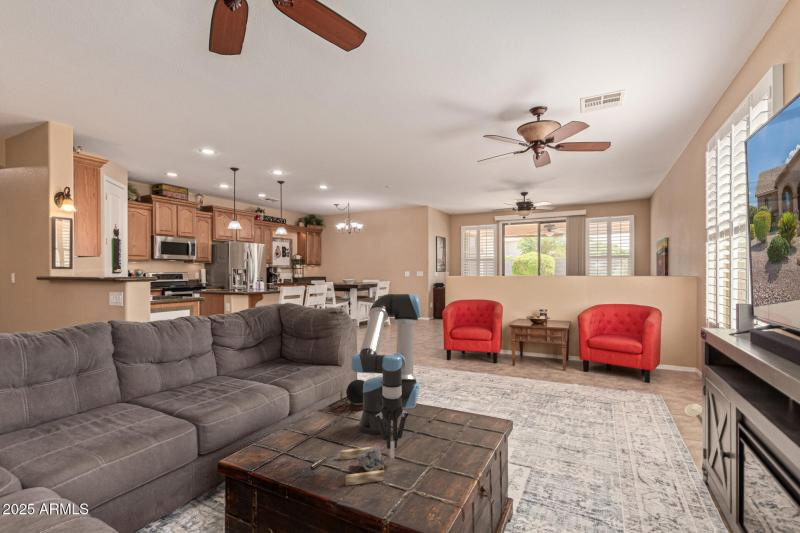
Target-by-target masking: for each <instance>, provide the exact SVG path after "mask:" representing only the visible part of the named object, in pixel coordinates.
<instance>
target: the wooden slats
mask: <svg viewBox="0 0 800 533" xmlns="http://www.w3.org/2000/svg"><path fill="white" fill-rule="evenodd" d="M375 447H376V446H367V447H359V448H351V449H342V450H340V451H339V452H340V455H339V456H340V461H343V460H350V459H352V460H353V459H357V457H358V456H357V455H358V454H360V453H362V452H364V451H365V450H366V449H369V448H375ZM385 474H386V473H385V469H384V470H382V469H379V470H378V471H371V472H370V471H366V472H359V473H350V474H345V483H344V484H345V486H346V487H347V486H354V485H359V484H360V485H361V484H369V483H374V482H381V481H385V479H386V475H385Z"/></svg>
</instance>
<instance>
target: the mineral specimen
mask: <svg viewBox="0 0 800 533" xmlns="http://www.w3.org/2000/svg"><path fill="white" fill-rule="evenodd" d="M374 447H375V448H369V449H366V450H365V451H364V452H362V453H360V454H358V455H357V456H358V457H357V458H356V460H358V461H359V462H358V465H360V467H362V468H363V469H364V470H365V471H366V472H371V471H379V470H384V471H385V462H384V461H383V460H382V459H383V454H382V450H381V448H380V446H374Z"/></svg>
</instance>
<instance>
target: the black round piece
mask: <svg viewBox="0 0 800 533" xmlns="http://www.w3.org/2000/svg"><path fill="white" fill-rule="evenodd" d="M365 381H366V380H363V379H355V380H352V381H351V382H350V383H349V384H348V385H347V387H346V389H345V391H346V392H345V394H346V398H347V400H348V401H349V404H348V406H347V409H348V410H349V411H352V412H363V384H364V382H365Z"/></svg>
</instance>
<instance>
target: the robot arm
mask: <svg viewBox="0 0 800 533" xmlns="http://www.w3.org/2000/svg"><path fill="white" fill-rule="evenodd" d="M368 317H369V319H368V323H367V326H366V330H365V334H364V337H363V340H362V343H361V348H360V351H359V353H355V354H353V356H352V358H351V369H352V371H353V372H355V373H358V374H359V373H361V374H364V373H365V374H382V376H375V377H371V378H369V379H366V380H364V381H365V382H364V384H363V411H362V413H361V415H360V416H361V417H360V420H359V426H358V428H359V430H360V431H361V432H362V433H365V434H368V435H381V438H382V439H383V441H386V448H387V449H388V456H389V458H390V459H395V449H397V448H398V439H402V436H403V433H404V429H405V425H406V421H407V418H408V416H409V413H408V412H407V411H405V410H404V409H414V408H415V407H416V406H417V402H418V399H419V398H418V397H419V393H420V383H419V382H417V377H415V374H414V366H415V365H414V362H415V361H414V360H415V356H414V355H415V326H416V324H417V323H418V321H419V319H420V318H421V317H422V311H421V302H420V298H419V296H418V295H417V294H411V293H386V294H383V295H382V296H380V297H378V298H377V299H376V300H375V301H374V302H373V303H372V305H371V307H370V308H369V311H368ZM388 318H394V322H395V323H396V326H397V328H396V329H397V330H396V353H393V354H378V353H379V350H380V345H381V340H382V336H383V331H384V326H385V324H386V323H385V322H386V321H387V320H388ZM399 418H400V421H399ZM398 422H399V426H398Z"/></svg>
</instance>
